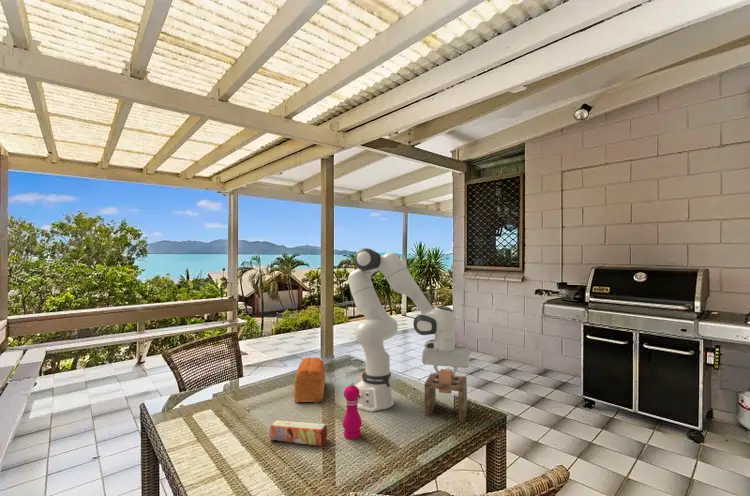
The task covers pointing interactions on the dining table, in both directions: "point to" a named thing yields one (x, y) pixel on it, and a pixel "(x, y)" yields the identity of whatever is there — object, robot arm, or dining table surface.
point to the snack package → (299, 432)
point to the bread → (309, 381)
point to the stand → (456, 385)
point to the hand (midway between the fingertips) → (445, 375)
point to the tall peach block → (445, 379)
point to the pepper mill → (351, 413)
